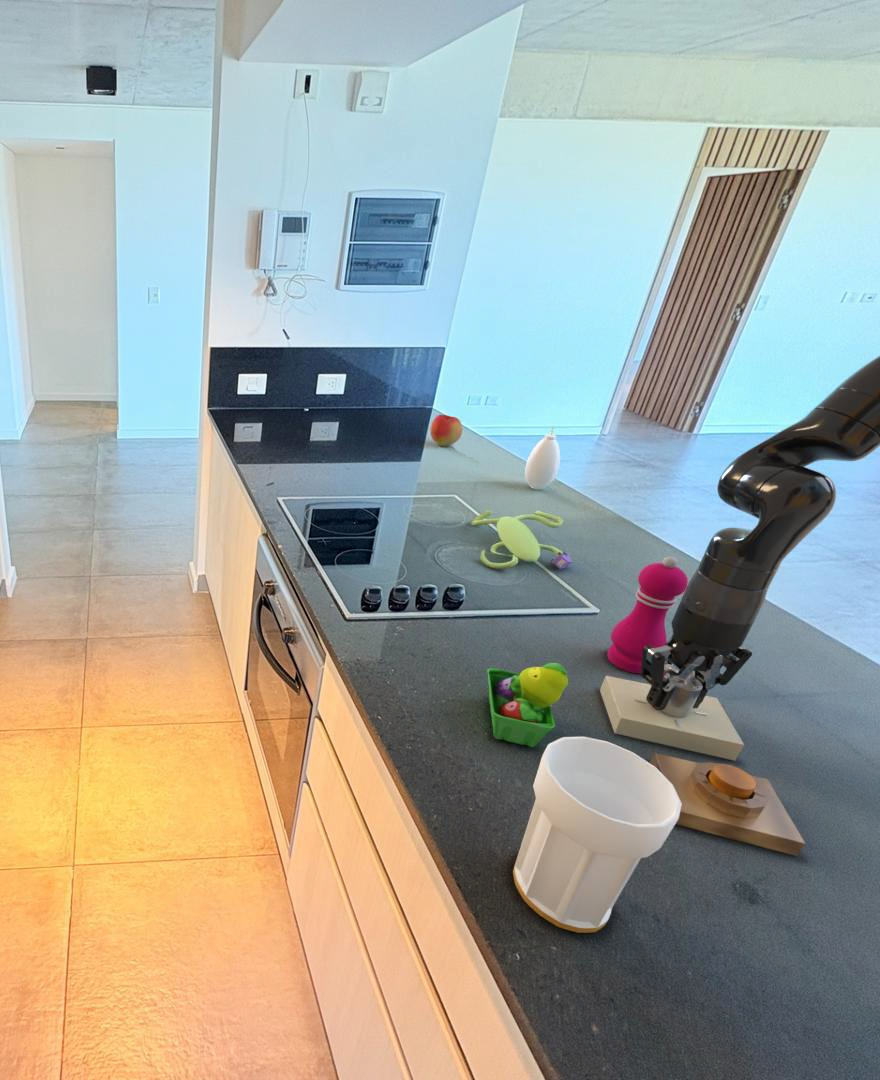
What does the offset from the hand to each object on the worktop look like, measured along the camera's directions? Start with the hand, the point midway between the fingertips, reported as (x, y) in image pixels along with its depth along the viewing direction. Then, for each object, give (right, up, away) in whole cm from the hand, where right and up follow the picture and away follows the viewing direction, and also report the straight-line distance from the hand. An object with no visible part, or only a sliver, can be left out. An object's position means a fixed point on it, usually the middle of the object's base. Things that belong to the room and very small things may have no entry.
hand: (671, 705), depth 89 cm
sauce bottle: (+31, +38, +83) cm, 97 cm away
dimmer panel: (0, -3, +2) cm, 4 cm away
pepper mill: (+5, +3, +14) cm, 16 cm away
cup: (-30, -15, -21) cm, 40 cm away
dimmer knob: (0, 0, 0) cm, 0 cm away
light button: (-4, -6, -13) cm, 15 cm away
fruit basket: (-21, -3, +2) cm, 22 cm away
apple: (+22, +56, +118) cm, 133 cm away
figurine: (+8, +22, +52) cm, 57 cm away
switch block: (-4, -10, -11) cm, 15 cm away
